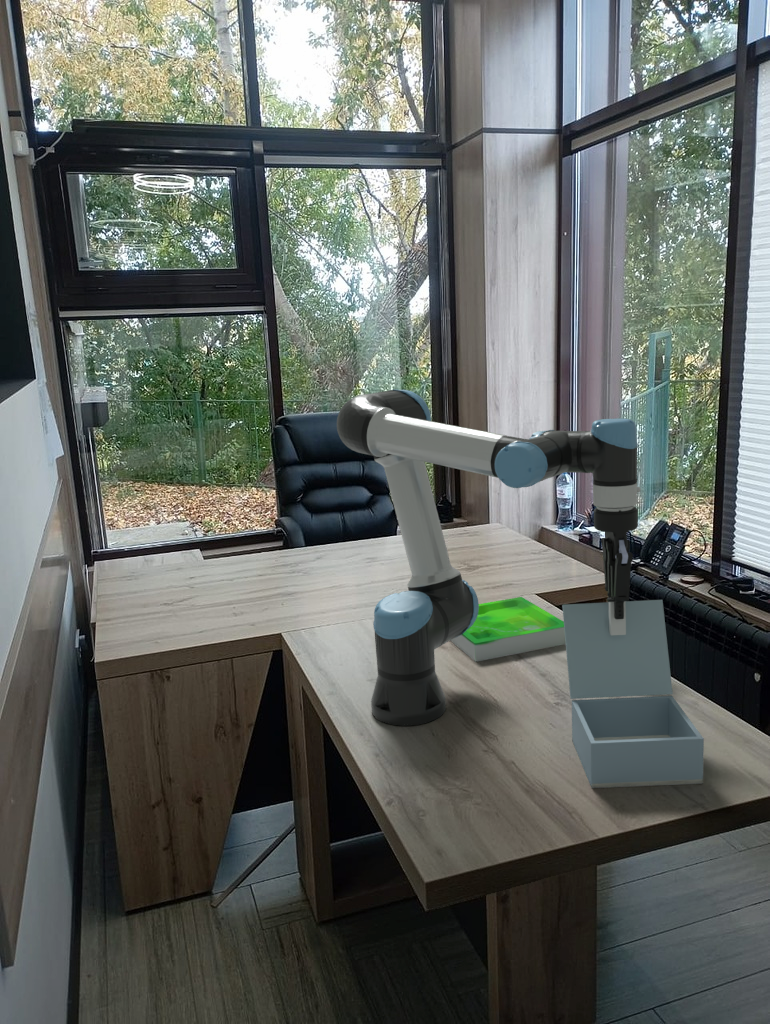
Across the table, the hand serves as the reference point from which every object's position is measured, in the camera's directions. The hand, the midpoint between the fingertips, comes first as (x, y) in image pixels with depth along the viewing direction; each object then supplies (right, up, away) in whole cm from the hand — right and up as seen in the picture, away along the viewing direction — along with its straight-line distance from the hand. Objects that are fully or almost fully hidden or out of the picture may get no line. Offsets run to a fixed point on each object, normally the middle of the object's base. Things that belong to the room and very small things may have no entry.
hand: (617, 633), depth 147 cm
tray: (-13, -9, +55) cm, 57 cm away
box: (+1, -21, -7) cm, 22 cm away
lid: (0, -3, 0) cm, 3 cm away
